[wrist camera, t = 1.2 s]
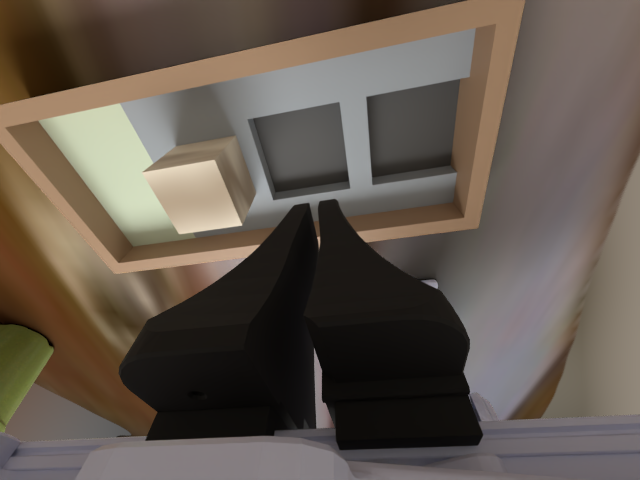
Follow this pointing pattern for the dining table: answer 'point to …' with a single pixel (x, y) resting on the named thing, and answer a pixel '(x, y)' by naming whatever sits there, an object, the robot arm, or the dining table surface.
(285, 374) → the robot arm
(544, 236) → the dining table surface
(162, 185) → the birch cube
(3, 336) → the plant pot
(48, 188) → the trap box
